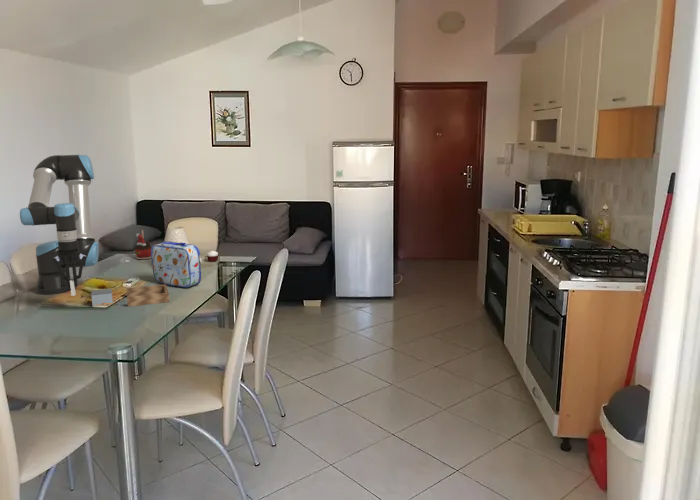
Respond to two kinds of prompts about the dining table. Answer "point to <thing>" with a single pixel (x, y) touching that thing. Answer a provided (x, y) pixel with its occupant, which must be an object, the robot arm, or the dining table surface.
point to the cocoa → (213, 255)
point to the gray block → (102, 296)
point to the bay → (147, 295)
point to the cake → (142, 248)
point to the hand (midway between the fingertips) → (73, 294)
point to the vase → (176, 235)
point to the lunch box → (176, 264)
